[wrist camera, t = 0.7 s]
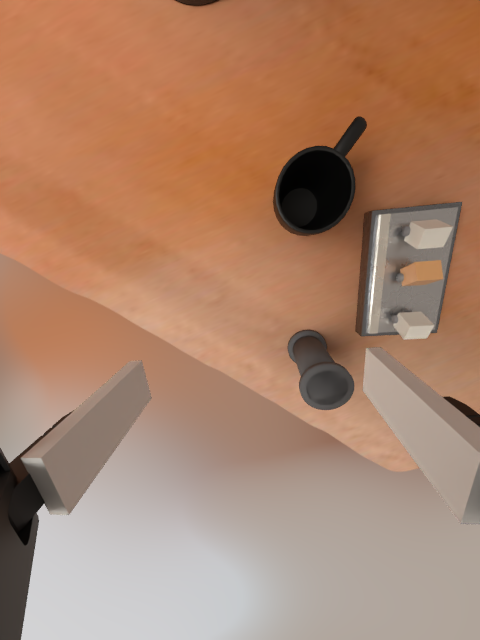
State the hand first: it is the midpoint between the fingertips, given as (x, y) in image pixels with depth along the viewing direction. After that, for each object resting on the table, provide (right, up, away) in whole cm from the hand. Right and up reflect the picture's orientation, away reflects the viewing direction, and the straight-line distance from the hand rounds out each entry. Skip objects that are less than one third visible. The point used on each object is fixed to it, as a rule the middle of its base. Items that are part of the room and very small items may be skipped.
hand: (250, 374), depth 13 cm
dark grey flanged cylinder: (+11, -2, +25) cm, 28 cm away
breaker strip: (+23, +10, +21) cm, 33 cm away
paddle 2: (+24, +3, +19) cm, 31 cm away
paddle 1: (+23, +15, +15) cm, 31 cm away
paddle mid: (+23, +9, +17) cm, 30 cm away
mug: (+9, +21, +19) cm, 29 cm away
